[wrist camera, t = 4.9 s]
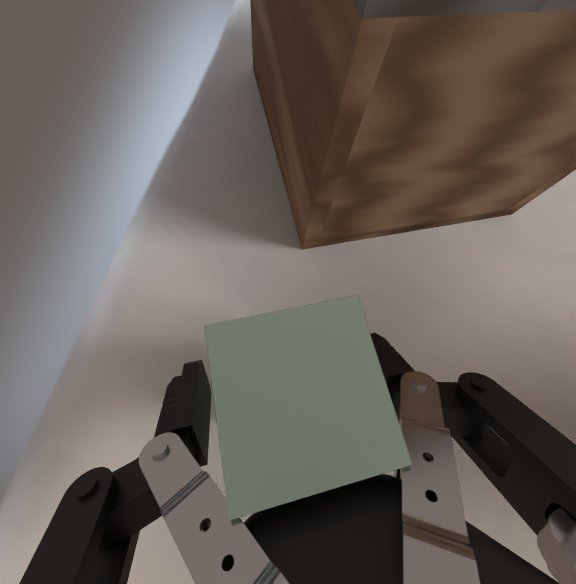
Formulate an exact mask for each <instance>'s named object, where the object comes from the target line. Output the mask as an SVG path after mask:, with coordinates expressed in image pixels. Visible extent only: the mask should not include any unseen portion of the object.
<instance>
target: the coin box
mask: <svg viewBox="0 0 576 584" xmlns="http://www.w3.org/2000/svg"><path fill="white" fill-rule="evenodd" d="M251 24H252V48H253V69H254V73H255V77H256V80H257V84H258V88H259V92H260V95H261V99H262V103H263V106H264V110H265V114H266V117H267V121H268V125H269V129H270V132H271V136H272V140H273V143H274V147H275V151H276V154H277V158H278V162H279V166H280V169H281V173H282V177H283V180H284V184H285V188H286V191H287V195H288V199H289V203H290V206H291V210H292V214H293V217H294V221H295V225H296V228H297V232H298V236H299V240H300V243H301V247H302V249H307V248H313V247H319V246H325V245H331V244H337V243H343V242H349V241H355V240H361V239H367V238H373V237H379V236H385V235H391V234H397V233H403V232H409V231H415V230H421V229H427V228H433V227H439V226H445V225H451V224H457V223H463V222H469V221H475V220H481V219H487V218H493V217H499V216H505V215H511V214H513V213H514V212H516V211H517V210H518V209H520V208H521V207H523V206H524V205H526V204H527V203H528V202H530V201H531V200H533V199H534V198H536V197H537V196H538V195H540V194H541V193H543V192H544V191H546V190H547V189H548V188H550V187H551V186H553V185H554V184H556V183H557V182H558V181H560V180H561V179H563V178H564V177H566V176H567V175H568V174H570V173H571V172H573V171H574V170H576V0H251Z"/></svg>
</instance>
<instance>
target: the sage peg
mask: <svg viewBox="0 0 576 584" xmlns="http://www.w3.org/2000/svg"><path fill="white" fill-rule="evenodd" d="M204 327H205V335H206V342H207V350H208V358H209V366H210V374H211V381H212V389H213V397H214V405H215V412H216V420H217V428H218V436H219V444H220V451H221V459H222V467H223V475H224V483H225V490H226V498H227V506H228V514H229V521H230V520H233V519H236V518H239V517H243V516H246V515H249V514H252V513H256V512H259V511H262V510H266V509H269V508H272V507H275V506H279V505H282V504H285V503H288V502H292V501H295V500H298V499H301V498H305V497H308V496H311V495H315V494H318V493H321V492H324V491H328V490H331V489H334V488H337V487H341V486H344V485H347V484H351V483H354V482H357V481H360V480H364V479H367V478H370V477H373V476H377V475H380V474H383V473H387V472H390V471H393V470H396V469H400V468H403V467H406V466H409V465H412V462H411V459H410V456H409V453H408V450H407V446H406V443H405V440H404V437H403V434H402V431H401V428H400V425H399V422H398V419H397V416H396V413H395V409H394V406H393V403H392V400H391V397H390V394H389V391H388V388H387V385H386V382H385V379H384V375H383V372H382V369H381V366H380V363H379V360H378V357H377V354H376V351H375V348H374V345H373V342H372V338H371V335H370V332H369V329H368V326H367V323H366V320H365V317H364V314H363V311H362V308H361V304H360V301H359V298H358V295H356V296H351V297H346V298H341V299H336V300H331V301H326V302H321V303H316V304H311V305H306V306H301V307H296V308H291V309H286V310H281V311H276V312H271V313H266V314H261V315H256V316H251V317H246V318H240V319H235V320H230V321H225V322H220V323H215V324H210V325H205V326H204Z"/></svg>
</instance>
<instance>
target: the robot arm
mask: <svg viewBox="0 0 576 584" xmlns="http://www.w3.org/2000/svg"><path fill="white" fill-rule="evenodd" d="M370 335H371V338H372V342H373V345H374V348H375V351H376V354H377V357H378V360H379V363H380V366H381V369H382V372H383V375H384V379H385V382H386V385H387V388H388V391H389V394H390V397H391V400H392V403H393V406H394V409H395V413H396V416H397V419H398V422H399V425H400V428H401V431H402V434H403V437H404V440H405V443H406V446H407V450H408V453H409V456H410V459H411V462H412V465H409V466H406V467H403V468H400V469H396V470H394V476H390V475H386V474H380V475H377V476H373V477H370V478H367V479H364V480H360V481H357V482H354V483H351V484H347V485H344V486H341V487H337V488H334V489H331V490H328V491H324V492H321V493H318V494H315V495H311V496H308V497H305V498H301V499H298V500H295V501H292V502H288V503H285V504H282V505H279V506H275V507H272V508H269V509H266V510H262V511H259V512H256V513H253V514H252V515H251V516H250V517H249V518H248V519H247V520H246V521H245V522H244V523H243V522H242V520H241V519H240V518H236V519H233V520H230V521H229V514H228V506H227V499H226V498H225V497H224V495H223V494H222V492H221V491H220V490H219V488H218V487H217V485H216V484H215V483H214V481H213V480H212V478H211V477H210V476H209V474H208V473H207V472H205V473H204V472H203V470H202V469H201V466H204V465H207V462H208V444H209V427H210V409H211V389H210V384H209V381H208V378H207V374H206V371H205V368H204V365H203V362H202V360H198V361H194V362H189V363H185V364H184V367H183V372H182V376H177V377H174V378H173V379H172V381H171V382H170V384H169V385H168V386H167V389H166V393H165V398H164V401H163V406H162V409H161V413H160V417H159V420H158V424H157V428H156V432H155V436H154V438H153V439H152V440H150V441H149V442H148V443H147V444H146V445H145V447H144V448H143V450H142V451H141V453H140V456H139V457H138V458H137V459H136V460H134V461H132V462H131V463H129V464H127V465H125V466H123V467H121V468H119V469H118V470H116V471H114V472H111V471H110V470H109V469H108V468H106V467H98V468H94V469H92V470H90V471H88V472H86V473H84V474H83V475H81V476H80V477H79V478H78V479H76V480H75V481H74V482H73V483H72V484H71V486H70V487H69V488H68V489H67V491H66V492H65V494H64V496H63V498H62V500H61V502H60V504H59V506H58V508H57V510H56V512H55V514H54V516H53V518H52V520H51V522H50V524H49V526H48V528H47V530H46V532H45V534H44V536H43V538H42V540H41V542H40V544H39V546H38V548H37V550H36V552H35V554H34V556H33V558H32V560H31V562H30V564H29V566H28V568H27V570H26V572H25V574H24V576H23V578H22V580H21V582H20V583H19V584H127V581H128V577H129V573H130V569H131V565H132V561H133V557H134V553H135V549H136V545H137V540H138V536H139V532H140V530H141V529H142V528H144V527H145V526H147V525H148V524H150V523H151V522H153V521H155V520H156V519H158V518H159V517H161V516H162V515H163V518H164V520H165V522H166V524H167V526H168V528H169V530H170V532H171V534H172V536H173V538H174V541H175V543H176V545H177V547H178V549H179V551H180V553H181V555H182V557H183V559H184V561H185V563H186V565H187V568H188V570H189V572H190V574H191V576H192V578H193V580H194V582H195V584H576V445H575V444H574V443H573V442H572V441H570V440H569V439H568V438H566V437H565V436H564V435H563V434H561V433H560V432H559V431H557V430H556V429H555V428H554V427H552V426H551V425H550V424H549V423H547V422H546V421H545V420H543V419H542V418H541V417H540V416H538V415H537V414H536V413H534V412H533V411H532V410H531V409H529V408H528V407H527V406H526V405H524V404H523V403H522V402H520V401H519V400H518V399H517V398H515V397H514V396H513V395H511V394H510V393H509V392H508V391H506V390H505V389H504V388H503V387H501V386H500V385H499V384H497V383H496V382H495V381H494V380H492V379H491V378H489V377H487V376H485V375H482V374H478V373H471V372H470V373H464V374H462V375H460V377H459V379H458V382H436V381H435V380H434V379H433V378H432V377H430V376H429V375H427V374H425V373H422V372H416V371H414V369H413V368H412V367H411V366H410V365H409V364H408V363H407V362H406V361H405V360H404V359H403V358H402V357H401V355H400V354H399V353H398V352H396V350H395V349H394V348H393V347H392V346H391V345H390V344H389V342H388V341H387V340H386V339H385V338H384V337H382V336H380V335H378V334H376V333H372V334H370ZM490 427H491V428H492V429H493V430H494V431H495V432H496V433H497V434H498V435H499V436H500V437H501V438H502V439H503V440H504V441H505V442H506V443H507V444H508V445H509V446H508V445H507V444H506V443H505V442H504V441H503V440H502V439H501V438H500V437H499V436H498V435H497V434H496V433H495V432H494V431H493V430H492V429H491V428H490ZM451 437H453V438H454V439H455V441H456V442H457V443H458V444H459V445H460V446H461V448H462V449H463V450H464V451H465V452H466V453H467V455H468V456H469V457H470V458H471V459H472V460H473V462H474V463H475V464H476V465H477V466H478V467H479V469H480V470H481V471H482V472H483V473H484V474H485V476H486V477H487V478H488V479H489V480H490V481H491V482H492V484H493V485H494V486H495V487H496V488H497V489H498V491H499V492H500V493H501V494H502V495H503V496H504V498H505V499H506V500H507V501H508V502H509V503H510V505H511V506H512V507H513V508H514V509H515V510H516V512H517V513H518V514H519V515H520V516H521V517H522V519H523V520H524V521H525V522H526V523H527V524H528V525H529V527H530V528H531V529H532V530H533V531H534V532H535V534H536V535H537V544H538V547H539V550H540V552H541V555H542V556H543V558H544V560H545V561H546V563H547V567H548V569H549V571H550V572H551V574H552V575H553V576H554V577H555V578H556V579H557V581H558V582H557V581H555V580H554V579H553V578H551V577H550V576H548V575H546V574H545V573H543V572H542V571H540V570H539V569H537V568H536V567H534V566H533V565H531V564H530V563H528V562H527V561H525V560H524V559H522V558H521V557H519V556H518V555H516V554H515V553H513V552H512V551H510V550H509V549H507V548H506V547H504V546H503V545H501V544H500V543H498V542H497V541H495V540H494V539H492V538H491V537H489V536H488V535H486V534H485V533H483V532H482V531H480V530H479V529H477V528H476V527H474V526H473V525H471V524H470V523H468V522H467V521H465V516H464V510H463V504H462V498H461V492H460V486H459V481H458V475H457V469H456V463H455V457H454V451H453V445H452V439H451Z"/></svg>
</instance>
